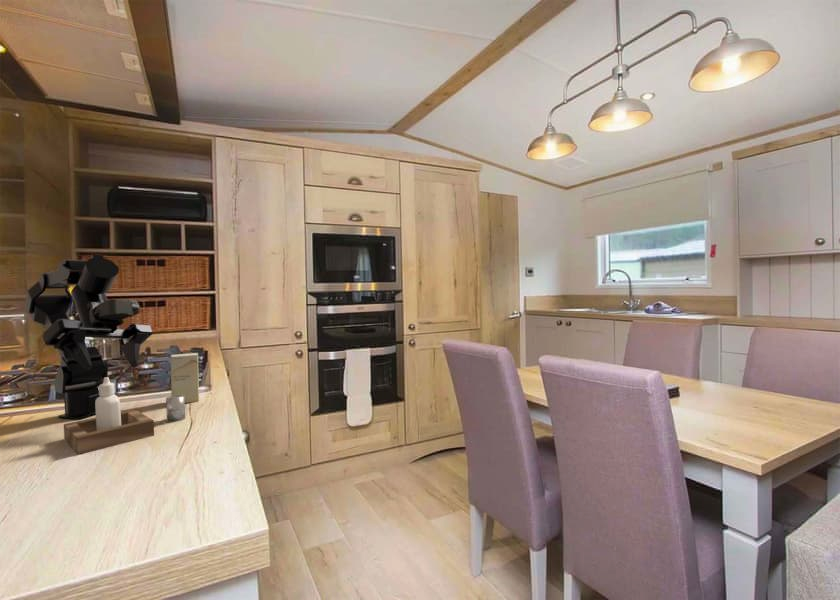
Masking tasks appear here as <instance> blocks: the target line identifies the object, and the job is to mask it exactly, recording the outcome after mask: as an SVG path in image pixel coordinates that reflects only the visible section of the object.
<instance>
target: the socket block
mask: <svg viewBox="0 0 840 600" xmlns="http://www.w3.org/2000/svg"><path fill="white" fill-rule="evenodd" d="M63 435H64V436H63V438H64V441H65V442H66V443H67V444H68V445H69V447H71V448H72V450H74V452H75V453H76V454H77V455H82V454H86V453H90V452H94V451H97V450H102V449H106V448H109V447H112V446H117V445H122V444H125V443H129V442H132V441H136V440H141V439H144V438H148V437H152V436H155V423H154V420H153V419H152V418H151V417H148V416H147V415H145V414H143V413H141V412H140V411H139V410H137V409H135V408H134V409H130V410H125V411H121V426H116V427H112V428H108V429H103V430H99V431H97V428H96V416H95V417H92V418H88V419H87V418H86V419H80V420H78V421H73V422H67V423H63Z"/></svg>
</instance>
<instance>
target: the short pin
mask: <svg viewBox="0 0 840 600" xmlns="http://www.w3.org/2000/svg"><path fill="white" fill-rule="evenodd" d="M165 406H166V409H165V410H166V422H168V423H174V422H175V423H177V422H180V421H183V420H185V419H186V405H185V397H184V395H175V396H172V395H171V396H167V397H166V398H165Z"/></svg>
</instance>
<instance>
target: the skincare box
mask: <svg viewBox="0 0 840 600" xmlns="http://www.w3.org/2000/svg"><path fill="white" fill-rule="evenodd" d="M170 375H171V376H170V387H171V388H170V389H171V394H170V395H171V396H175V395H184V397H185V403H187V404H188V403H195V402H199V399H200V391H199V390H200V386H199V352H192V353H180V354H179V353H178V354H171V355H170Z"/></svg>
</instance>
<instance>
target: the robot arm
mask: <svg viewBox="0 0 840 600" xmlns="http://www.w3.org/2000/svg"><path fill="white" fill-rule="evenodd" d="M119 272H120V268H119V266H118V265H117V264H116V263H115V262H114V261H112V260H110V259H109V258H105V256H104V255H103V254H99V253H98V254H97V253H95V254H93V253H92V254H91V255H90V257H89V259H63V260H61V262H60V263H58V264H57V269H55V270H52V271H48V272H43V273H40V274H39V276H38V280H37V282H36V283H34V285H32V286H31V287H30V288H29V289H28V290H27V292H26V297H25V302H24V307H25V308H24V309H25V312H26V314H29V317H30V319H32V321H33V322H36V323H37V324H40V325H43V326H44V327H46V330H45V331H44V332H43V334H42V339H43V341H44V344H45V346H53V348H54V349H56V350H57V352H58V354H59V355H60V358H61V359H60V363H59V364H60V365H59V367H58V368H57V372H56V375H55V377H54V380H53V387H54V392H56V393H58V394H61V395H63V400H64V413H63V414H59V415H57V418H58V419H59V418H60V419H73V420H83V419H84V418H87V417H91V416H94V415H96V409H95V401H96V399H97V398H98V397H100V395H99V385H101V384H102V383H103V381H104V378H105V377H108V374H109V365H108V363H107V362H106V360H104V359H103V356H102V355H101V354H100V352H99V349H98V348H97V347H96V346H87V345H86V338H92V339H107V340H110V339H111V340H118V342H119V345H121V347H120V350H121V351H122V353H123V354H124V356H125V358H126V359H127V361H128V364H129V365H130V366H131V367H132V368H133V369H135V368H137V367H138V365H139V357H140V350H141V347H142V346H141V345H142V344H143V343H144V342H145V341H147V340H148V338H149V339H150V337H151V336H152V335H153V334H154V332H153V330H152V327H151V325H150V324H144V323H143V324H142V323H131V324H130V325H129V326H127V327H126V328H125V329H118V326H121V325H123V324H124V319H127V318H131V317H134V316H136V315H138V314H139V313H140V312H141V308H140V305H139V303H138V301H137V300H136V299H135V300H134V299H128V300H125V299H124V300H122V299H108V298H107V297H108V296H107V294H106V293H108V292H110V290H111V289H112V287H113V285H114V282H115V281H116V279H117V277H118V275H119ZM70 286H74V287H72V289H71V291H70V289H69V287H70ZM47 289H63V290H64V292H65V294H62V293H61V294H43V293H45V291H46V290H47ZM73 303H74V305H75V309H76V313H77V314H76V315H75V316H74V317H73V319H71V318H69V317H70V316H69V315H70V312H71V309H72V305H73Z"/></svg>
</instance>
